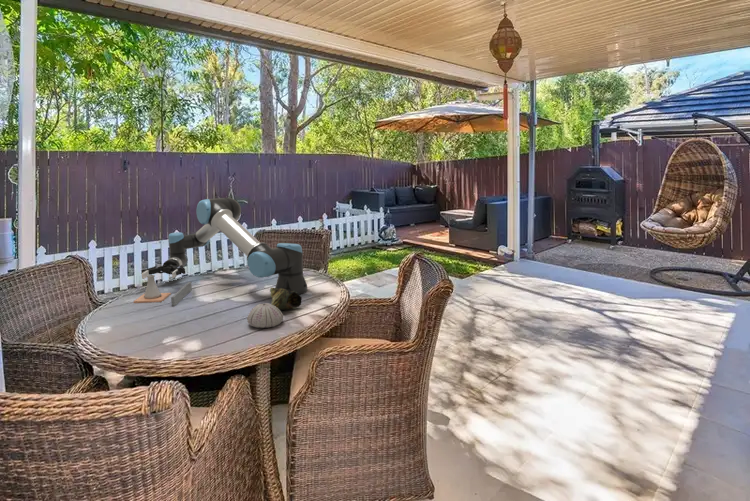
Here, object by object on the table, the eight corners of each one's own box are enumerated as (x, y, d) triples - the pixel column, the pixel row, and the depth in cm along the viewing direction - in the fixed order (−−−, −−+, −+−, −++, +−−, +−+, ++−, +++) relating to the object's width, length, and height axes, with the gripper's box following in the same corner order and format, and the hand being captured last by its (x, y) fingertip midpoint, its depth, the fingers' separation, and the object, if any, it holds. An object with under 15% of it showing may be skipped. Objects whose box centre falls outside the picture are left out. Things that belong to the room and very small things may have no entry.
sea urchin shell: (250, 319, 175) (249, 299, 174) (285, 317, 177) (284, 298, 175) (244, 331, 162) (243, 310, 161) (282, 329, 164) (281, 308, 162)
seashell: (293, 315, 179) (292, 291, 177) (267, 314, 181) (266, 290, 179) (303, 307, 189) (302, 284, 187) (277, 306, 191) (276, 283, 189)
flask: (156, 293, 208) (153, 272, 206) (164, 296, 204) (162, 274, 202) (140, 297, 202) (138, 276, 200) (149, 300, 198) (147, 278, 196)
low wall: (189, 289, 217) (188, 281, 216) (191, 289, 217) (191, 281, 216) (171, 306, 192) (171, 297, 191) (174, 306, 192) (173, 297, 191)
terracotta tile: (144, 295, 208) (144, 293, 208) (171, 294, 210) (170, 292, 209) (133, 303, 196) (133, 301, 196) (162, 301, 198) (161, 300, 198)
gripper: (198, 272, 233) (186, 282, 212) (147, 273, 230) (130, 284, 209) (196, 258, 231) (184, 267, 211) (146, 259, 229) (129, 268, 208)
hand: (157, 275), depth 210 cm, fingers open, 13 cm apart
